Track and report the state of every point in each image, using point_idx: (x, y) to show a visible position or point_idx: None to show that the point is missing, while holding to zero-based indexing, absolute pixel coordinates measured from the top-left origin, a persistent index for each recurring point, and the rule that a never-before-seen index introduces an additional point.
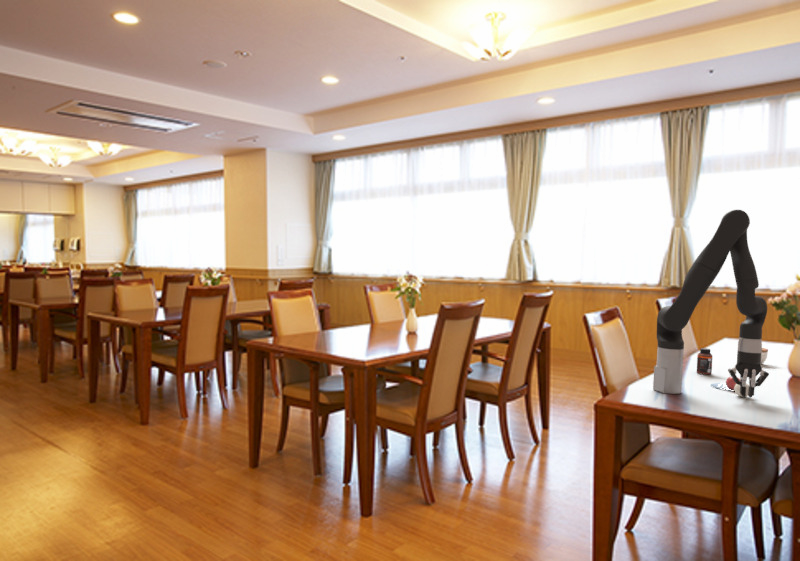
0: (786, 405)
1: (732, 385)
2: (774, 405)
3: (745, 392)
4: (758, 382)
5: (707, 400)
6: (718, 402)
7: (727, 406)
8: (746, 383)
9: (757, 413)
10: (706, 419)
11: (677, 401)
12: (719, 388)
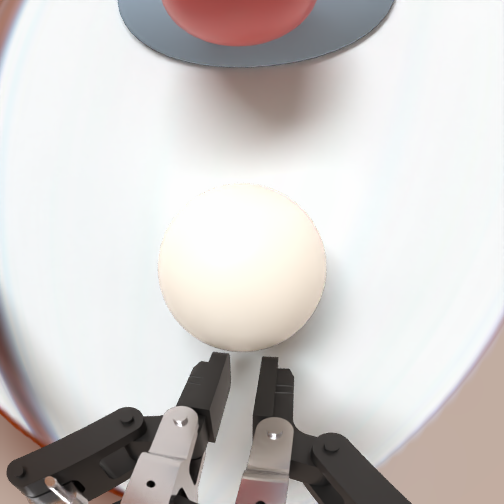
0: (445, 378)
1: (207, 40)
2: (377, 404)
3: (223, 407)
4: (313, 495)
5: (67, 375)
6: (104, 401)
7: None
8: (272, 314)
9: (230, 488)
10: None
11: (18, 385)
12: (141, 29)
